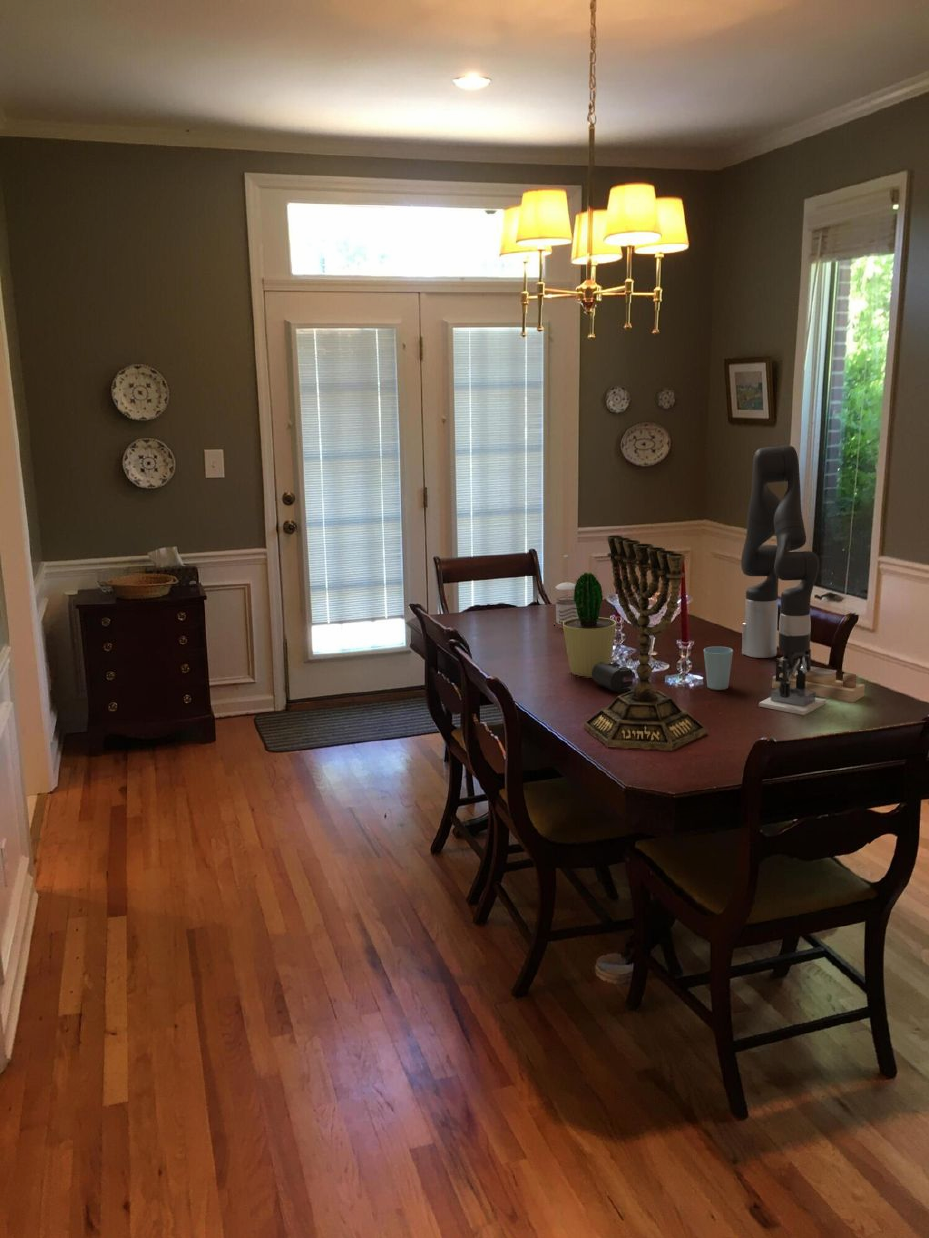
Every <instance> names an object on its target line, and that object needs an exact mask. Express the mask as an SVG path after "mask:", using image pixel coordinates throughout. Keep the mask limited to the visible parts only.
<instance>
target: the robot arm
mask: <svg viewBox="0 0 929 1238" xmlns="http://www.w3.org/2000/svg"><path fill="white" fill-rule="evenodd" d="M752 461H753V462H752V479H751V495H750V501H749V505H748V506H749V507H748V512H747V522H746V523H747V524H746V534H745V535H746V536H745V539H744V544H743V548H742V552H741V560H740V563H741V565H740V566H741V572H742V573H743V574H744V575H745V576H747V577H766V578H765V580H763V581H762V582H760V583H759V584H756V585H753V586H750V587H748V588H747V589H746V591H745V620H744V622H743V623H742V625H741V626H742V630H741V631H742V632H741V633H742V634H741V635H742V636H741V637H742V639H741V640H742V642H741V643H742V644H741V654H742V655H745V656H748V657H751V658H755V659H756V658H759V659H766V658H774V657H776V656H777V655H778V654H777V649H779V650H780V651H782V652H783V656H782V657H783V658H781V657H780V658H779V657H777V658H776V659H775V660H776V661H775V663H776V665H775V676H776V678H775V681H776V682H780V696H781V697H784V698H788V697H789V696H790V680H791V677H792V676H794V674H795V673H797V675H796V688H798V689H805V682H806V675H807V671H810V669H811V667H812V666H811V665H812V663H811V661H812V659H811V658H812V650H811V631H812V630H811V627H812V623H811V600H812V599H811V598H812V594H813V589H814V587H815V583H816V580H817V577H818V574H819V571H820V560H819V557H818V555H817V554H816V553H815V552H813V551H811V550H808V551H806V550H805V551H804V550H803V551H796V550H798V549H801V548H803V547H804V545H806V543H807V535H806V534H807V533H806V528H805V524H804V519H803V512H802V501H801V500H802V499H801V498H802V496H801V495H802V494H801V492H802V491H801V477H800V476H801V475H800V464H799V463H800V462H799V456H798V452H797V450H796V448H795V447H794V446H792V445H781V446H780V445H779V446H769V447H761V448H758V449H757V450H756V451H755V453H754V455H753V460H752ZM781 482H787V485H786V490H785V492H784V495H783V497H782V499H780V498H779V497H778V495H777V494H776V493H774V491H772V490H771V489H770V487H769V486H768V485H767V484H769V483H781ZM774 536H775V537H776V545H775V544H765V543H766V542H767V541H768V540H770V539H771V538H772V537H774ZM779 580H781V581H800V582H799V584H798V585H796V586H795V587H791V588H788V589H784V590H783V591H782V592H781V595H780V609H778V608H779ZM778 611H780V615H779V614H778V613H779V612H778ZM778 615H779V616H778ZM778 617H779V621H778ZM780 673H781V675H780ZM787 675H788V677H787Z"/></svg>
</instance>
